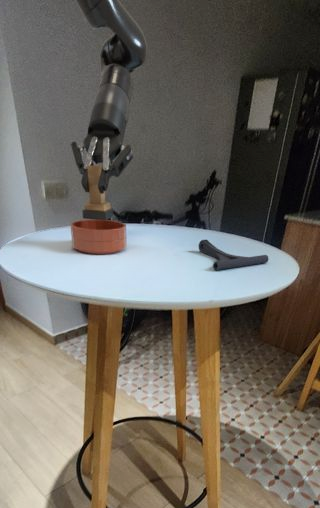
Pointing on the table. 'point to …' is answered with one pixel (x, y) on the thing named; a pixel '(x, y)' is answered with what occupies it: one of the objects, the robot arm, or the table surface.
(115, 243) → the bowl
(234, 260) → the dark branching pipe
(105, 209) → the wooden block on stand
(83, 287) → the table surface
